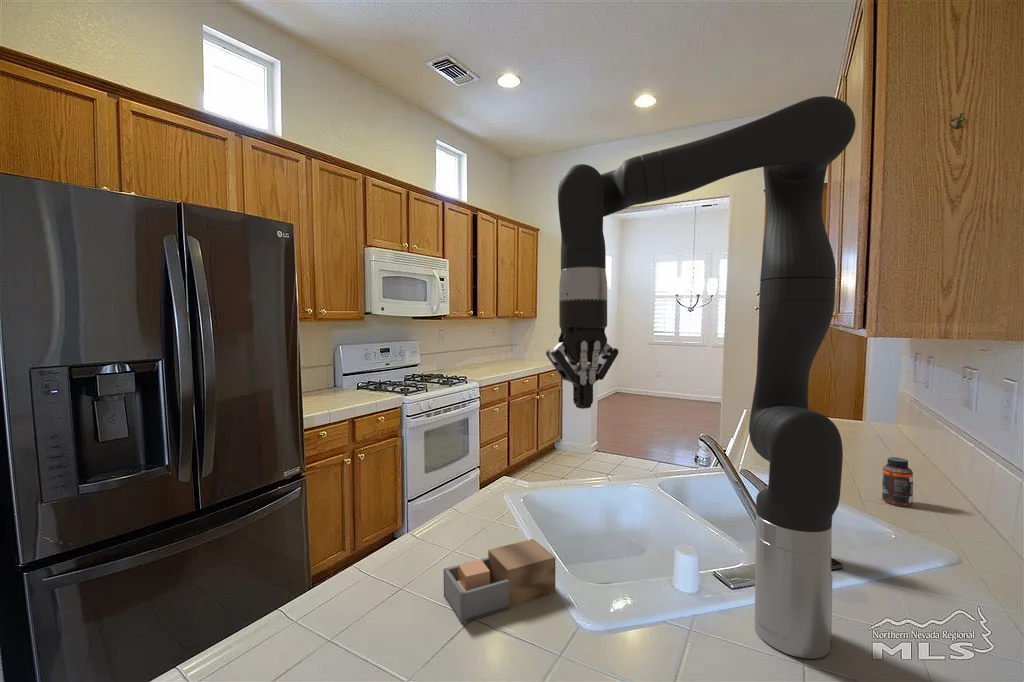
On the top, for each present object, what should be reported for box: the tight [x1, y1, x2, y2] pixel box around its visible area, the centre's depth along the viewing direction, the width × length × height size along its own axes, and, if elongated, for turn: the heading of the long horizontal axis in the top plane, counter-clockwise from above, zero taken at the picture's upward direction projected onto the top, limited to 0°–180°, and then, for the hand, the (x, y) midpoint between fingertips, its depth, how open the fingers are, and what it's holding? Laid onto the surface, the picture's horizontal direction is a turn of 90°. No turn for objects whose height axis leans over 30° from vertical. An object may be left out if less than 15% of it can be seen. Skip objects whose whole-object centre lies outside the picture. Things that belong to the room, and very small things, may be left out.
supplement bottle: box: [881, 456, 914, 507], centre depth 116 cm, size 6×6×11 cm
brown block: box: [487, 538, 556, 608], centre depth 77 cm, size 9×8×6 cm
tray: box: [443, 557, 510, 625], centre depth 73 cm, size 8×8×4 cm
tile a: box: [457, 559, 490, 591], centre depth 74 cm, size 4×4×2 cm
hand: (583, 407), depth 72 cm, fingers closed
